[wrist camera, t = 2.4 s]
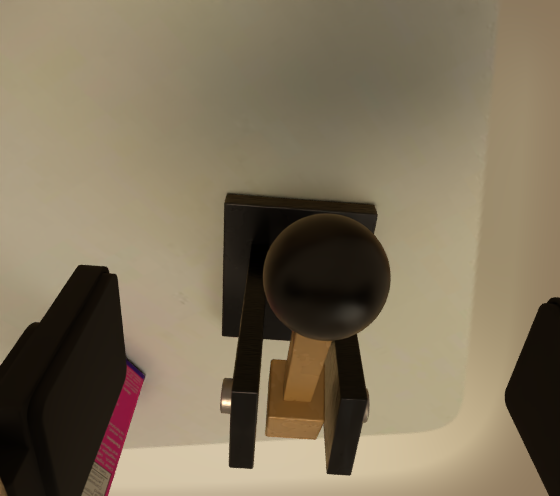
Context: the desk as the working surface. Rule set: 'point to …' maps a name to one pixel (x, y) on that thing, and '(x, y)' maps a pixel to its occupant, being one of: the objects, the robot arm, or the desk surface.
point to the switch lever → (318, 310)
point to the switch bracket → (282, 328)
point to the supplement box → (115, 435)
